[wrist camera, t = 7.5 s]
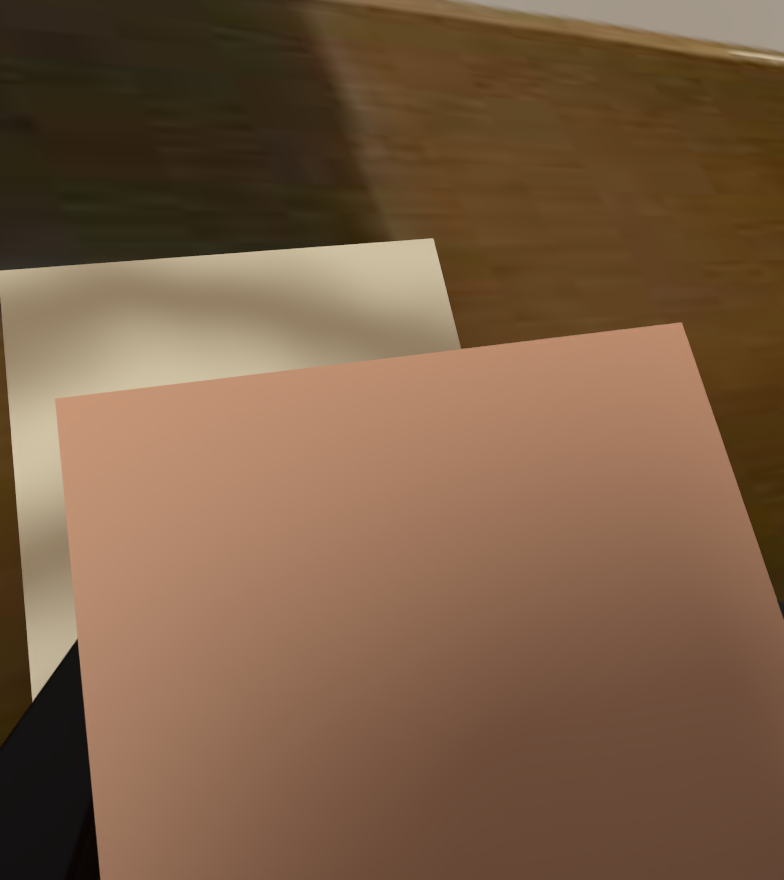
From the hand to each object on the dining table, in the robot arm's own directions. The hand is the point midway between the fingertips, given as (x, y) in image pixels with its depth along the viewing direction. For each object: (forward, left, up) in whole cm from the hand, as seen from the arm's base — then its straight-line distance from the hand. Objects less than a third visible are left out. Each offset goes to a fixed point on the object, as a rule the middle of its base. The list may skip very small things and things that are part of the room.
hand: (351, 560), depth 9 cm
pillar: (0, +1, -6) cm, 6 cm away
